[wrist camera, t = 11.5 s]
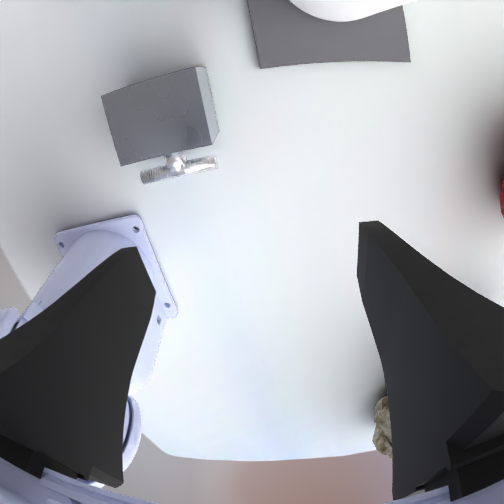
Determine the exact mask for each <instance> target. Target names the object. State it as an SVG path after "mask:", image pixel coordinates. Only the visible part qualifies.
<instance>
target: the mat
mask: <svg viewBox="0 0 504 504" xmlns="http://www.w3.org/2000/svg"><path fill="white" fill-rule="evenodd" d="M247 2H248V7H249V12H250V17H251V21H252V26H253V32H254V37H255V42H256V47H257V52H258V58H259V63H260V68H261V69H263V68H271V67H279V66H287V65H297V64H308V63H322V62H341V61H395V62H411V61H410V52H409V44H408V37H407V30H406V24H405V18H404V12H403V7H402V5H400V6H397V7H394V8H391V9H388V10H385V11H382V12H379V13H376V14H373V15H371V16H368V17H365V18H362V19H358V20H354V21H346V22H337V21H329V20H324V19H320V18H317V17H315V16H312V15H310V14H308V13H306V12H304V11H302V10H301V9H299V8H298V7H297V6H295V5H294V4H293V3H292V2H290V1H289V0H247Z"/></svg>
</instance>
